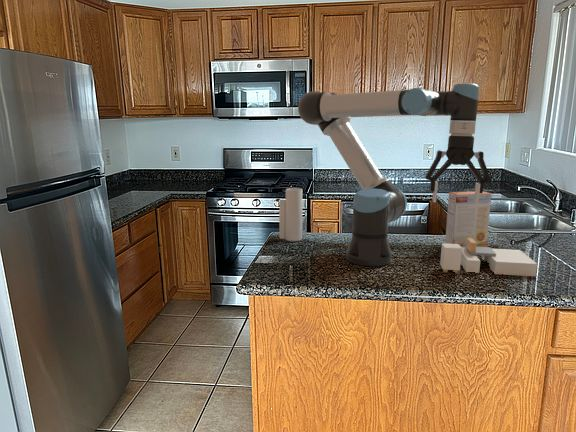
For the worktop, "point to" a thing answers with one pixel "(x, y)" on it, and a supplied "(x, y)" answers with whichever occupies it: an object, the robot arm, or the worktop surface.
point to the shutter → (478, 249)
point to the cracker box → (467, 218)
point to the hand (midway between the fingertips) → (454, 202)
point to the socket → (501, 262)
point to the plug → (450, 257)
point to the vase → (291, 215)
